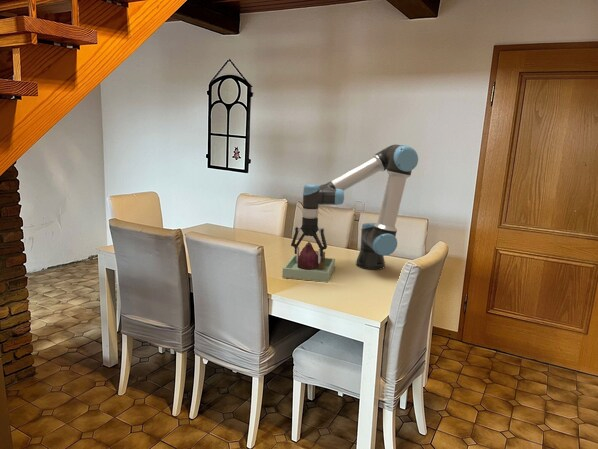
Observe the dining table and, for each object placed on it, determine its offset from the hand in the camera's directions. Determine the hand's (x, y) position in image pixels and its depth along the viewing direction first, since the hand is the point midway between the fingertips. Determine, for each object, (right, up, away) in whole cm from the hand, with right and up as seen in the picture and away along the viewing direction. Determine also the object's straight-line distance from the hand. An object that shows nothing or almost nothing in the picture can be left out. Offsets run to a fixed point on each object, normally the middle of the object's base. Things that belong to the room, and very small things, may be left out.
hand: (308, 261), depth 225 cm
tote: (+1, -6, +6) cm, 9 cm away
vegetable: (0, -3, +1) cm, 3 cm away
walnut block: (+2, -4, +12) cm, 13 cm away
